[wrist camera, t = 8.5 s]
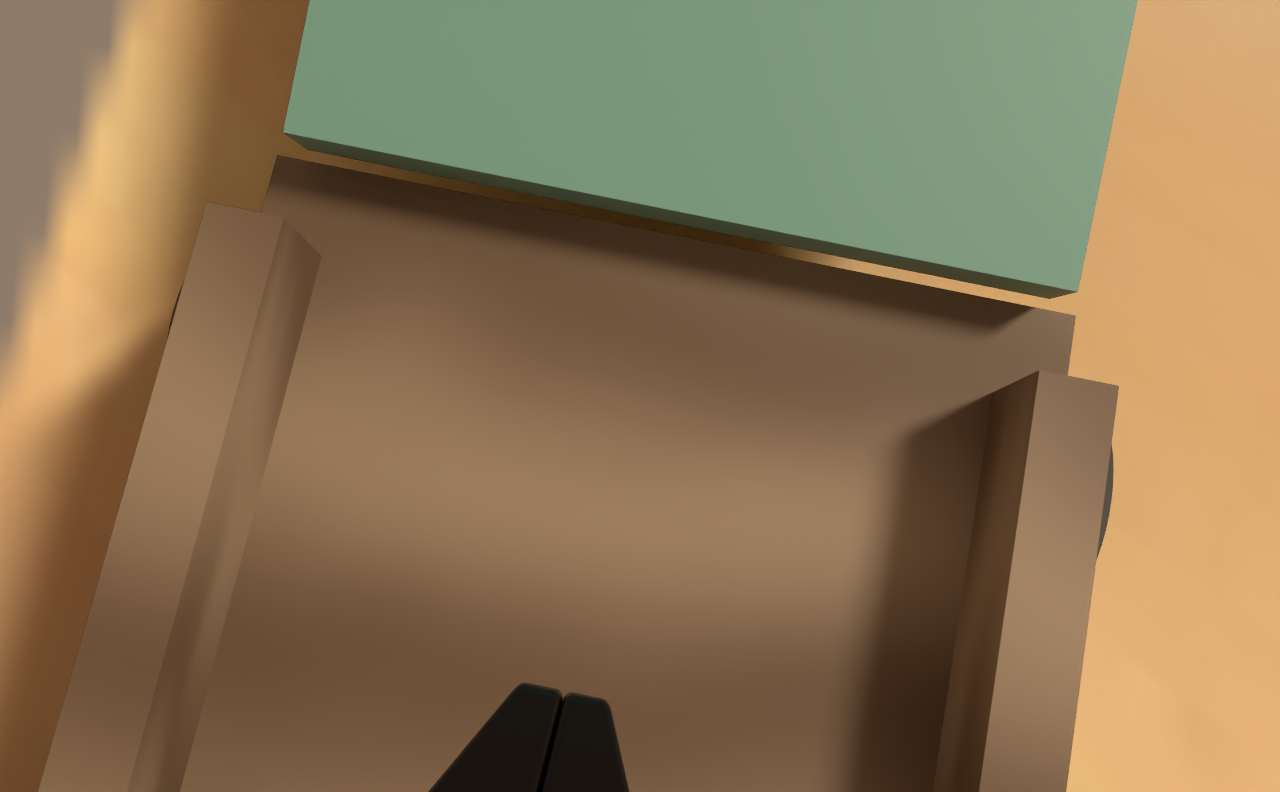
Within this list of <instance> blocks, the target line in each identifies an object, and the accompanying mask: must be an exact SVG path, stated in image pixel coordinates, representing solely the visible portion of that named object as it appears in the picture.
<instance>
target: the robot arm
mask: <svg viewBox="0 0 1280 792" xmlns="http://www.w3.org/2000/svg"><path fill="white" fill-rule="evenodd" d="M428 792H629V787H628V783H627V778H626V774H625V769H624V765H623V760H622V756H621V751H620V747H619V742H618V738H617V733H616V729H615V724H614V720H613V715H612V711H611V707H610V705H609V703H608V702H607V701H606V700H605V699H603V698H599V697H594V696H589V695H585V694H580V693H575V692H570V693H568V694H566V695H565V696H564V698H563V695H562V692H561V691H560V690H558V689H556V688H551V687H547V686H542V685H537V684H532V683H528V682H524V683H521V684H519V685H518V686H517V687H515V688H514V689H513V691H512V692H511V693H510V694H509V695H508V696H507V698H506V699H505V700H504V701H503V702H502V704H501V705H500V706H499V707H498V708H497V710H496V711H495V712H494V713H493V714H492V716H491V717H490V718H489V719H488V720H487V722H486V723H485V724H484V725H483V726H482V728H481V729H480V730H479V731H478V732H477V734H476V735H475V736H474V737H473V738H472V740H471V741H470V742H469V743H468V744H467V746H466V747H465V748H464V749H463V750H462V752H461V753H460V754H459V755H458V756H457V758H456V759H455V760H454V761H453V762H452V764H451V765H450V766H449V767H448V768H447V770H446V771H445V772H444V773H443V774H442V776H441V777H440V778H439V779H438V780H437V782H436V783H435V784H434V785H433V786H432V788H431V789H430V790H429V791H428Z"/></svg>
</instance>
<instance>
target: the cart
mask: <svg viewBox="0 0 1280 792" xmlns="http://www.w3.org/2000/svg"><path fill="white" fill-rule="evenodd" d="M1075 318H1076V316H1074V315H1069V314H1064V313H1060V312H1055V311H1050V310H1045V309H1040V308H1035V307H1030V306H1025V305H1020V304H1015V303H1010V302H1005V301H1000V300H995V299H990V298H985V297H980V296H975V295H970V294H965V293H960V292H955V291H950V290H945V289H940V288H935V287H930V286H925V285H920V284H915V283H910V282H905V281H900V280H895V279H890V278H885V277H881V276H876V275H871V274H866V273H861V272H856V271H851V270H846V269H841V268H836V267H831V266H826V265H821V264H816V263H811V262H806V261H801V260H796V259H791V258H786V257H781V256H776V255H771V254H766V253H761V252H756V251H751V250H746V249H741V248H736V247H731V246H726V245H721V244H716V243H711V242H707V241H702V240H697V239H692V238H687V237H682V236H677V235H672V234H667V233H662V232H657V231H652V230H647V229H642V228H637V227H632V226H627V225H622V224H617V223H612V222H607V221H602V220H597V219H592V218H587V217H582V216H577V215H572V214H567V213H562V212H557V211H552V210H547V209H542V208H537V207H532V206H528V205H523V204H518V203H513V202H508V201H503V200H498V199H493V198H488V197H483V196H478V195H473V194H468V193H463V192H458V191H453V190H448V189H443V188H438V187H433V186H428V185H423V184H418V183H413V182H408V181H403V180H398V179H393V178H388V177H383V176H378V175H373V174H368V173H363V172H358V171H353V170H349V169H344V168H339V167H334V166H329V165H324V164H319V163H314V162H309V161H304V160H299V159H294V158H289V157H284V156H279V155H277V158H276V162H275V165H274V169H273V173H272V176H271V180H270V184H269V187H268V191H267V194H266V198H265V202H264V205H263V209H262V213H261V212H256V211H251V210H246V209H241V208H236V207H231V206H226V205H221V204H216V203H211V202H207V203H206V206H205V210H204V213H203V217H202V220H201V224H200V227H199V231H198V234H197V238H196V241H195V245H194V248H193V252H192V255H191V259H190V262H189V266H188V269H187V273H186V276H185V280H184V282H183V284H182V287H181V290H180V292H179V295H178V298H177V301H176V304H175V307H174V311H173V315H172V318H171V322H170V327H169V333H168V338H167V343H166V346H165V350H164V353H163V357H162V360H161V364H160V367H159V371H158V374H157V378H156V381H155V385H154V388H153V392H152V395H151V399H150V402H149V406H148V409H147V413H146V416H145V420H144V423H143V427H142V430H141V434H140V437H139V441H138V444H137V448H136V451H135V455H134V458H133V462H132V465H131V469H130V472H129V476H128V479H127V482H126V486H125V489H124V493H123V496H122V500H121V503H120V507H119V510H118V514H117V517H116V521H115V524H114V528H113V531H112V535H111V538H110V542H109V545H108V549H107V552H106V556H105V559H104V563H103V566H102V570H101V573H100V577H99V580H98V584H97V587H96V591H95V594H94V598H93V601H92V605H91V608H90V612H89V615H88V619H87V622H86V626H85V629H84V633H83V636H82V640H81V643H80V647H79V650H78V654H77V657H76V661H75V664H74V668H73V671H72V675H71V678H70V682H69V685H68V689H67V692H66V696H65V699H64V703H63V706H62V710H61V713H60V717H59V720H58V724H57V727H56V731H55V734H54V738H53V741H52V745H51V748H50V752H49V755H48V759H47V762H46V766H45V769H44V773H43V776H42V780H41V783H40V787H39V790H38V792H428V791H429V790H430V789H431V788H432V786H433V785H434V784H435V783H436V782H437V780H438V779H439V778H440V777H441V776H442V774H443V773H444V772H445V771H446V770H447V768H448V767H449V766H450V765H451V764H452V762H453V761H454V760H455V759H456V758H457V756H458V755H459V754H460V753H461V752H462V750H463V749H464V748H465V747H466V746H467V744H468V743H469V742H470V741H471V740H472V738H473V737H474V736H475V735H476V734H477V732H478V731H479V730H480V729H481V728H482V726H483V725H484V724H485V723H486V722H487V720H488V719H489V718H490V717H491V716H492V714H493V713H494V712H495V711H496V710H497V708H498V707H499V706H500V705H501V704H502V702H503V701H504V700H505V699H506V698H507V696H508V695H509V694H510V693H511V692H512V691H513V689H514V688H515V687H517V686H518V685H519V684H521V683H524V682H528V683H532V684H537V685H542V686H547V687H551V688H556V689H558V690H560V691H561V692H562V695H563V698H564V696H565V695H566V694H568V693H570V692H575V693H580V694H585V695H589V696H594V697H599V698H603V699H605V700H606V701H607V702H608V703H609V705H610V707H611V711H612V715H613V720H614V724H615V729H616V733H617V738H618V742H619V747H620V751H621V756H622V760H623V765H624V769H625V774H626V778H627V783H628V787H629V792H1066V788H1067V780H1068V773H1069V765H1070V757H1071V750H1072V742H1073V734H1074V727H1075V719H1076V711H1077V703H1078V696H1079V688H1080V680H1081V673H1082V665H1083V657H1084V650H1085V642H1086V634H1087V627H1088V619H1089V611H1090V604H1091V596H1092V588H1093V581H1094V573H1095V565H1096V560H1097V557H1098V554H1099V551H1100V548H1101V545H1102V542H1103V538H1104V535H1105V531H1106V527H1107V522H1108V517H1109V512H1110V506H1111V499H1112V489H1113V452H1112V435H1113V427H1114V420H1115V412H1116V404H1117V397H1118V389H1119V386H1116V385H1111V384H1106V383H1101V382H1096V381H1091V380H1086V379H1082V378H1077V377H1072V376H1067V375H1068V368H1069V361H1070V354H1071V346H1072V339H1073V332H1074V325H1075Z"/></svg>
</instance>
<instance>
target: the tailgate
mask: <svg viewBox="0 0 1280 792" xmlns="http://www.w3.org/2000/svg"><path fill="white" fill-rule="evenodd" d="M1137 1H1138V0H310V2H309V6H308V11H307V16H306V21H305V26H304V31H303V36H302V41H301V46H300V51H299V56H298V61H297V66H296V70H295V75H294V80H293V85H292V90H291V95H290V100H289V105H288V110H287V115H286V120H285V125H284V130H283V133H285V134H286V135H288V136H289V137H290V138H292V139H293V140H295V141H296V142H298V143H299V144H300V145H302V146H303V147H305V148H306V149H307V150H311V151H316V152H321V153H326V154H331V155H336V156H341V157H346V158H351V159H356V160H361V161H366V162H371V163H376V164H381V165H386V166H391V167H396V168H401V169H406V170H411V171H416V172H421V173H426V174H431V175H436V176H440V177H445V178H450V179H455V180H460V181H465V182H470V183H475V184H480V185H485V186H490V187H495V188H500V189H505V190H510V191H515V192H520V193H525V194H530V195H535V196H540V197H545V198H550V199H555V200H560V201H565V202H570V203H575V204H580V205H585V206H590V207H595V208H600V209H605V210H610V211H615V212H620V213H625V214H630V215H635V216H640V217H645V218H650V219H654V220H659V221H664V222H669V223H674V224H679V225H684V226H689V227H694V228H699V229H704V230H709V231H714V232H719V233H724V234H729V235H734V236H739V237H744V238H749V239H754V240H759V241H764V242H769V243H774V244H779V245H784V246H789V247H794V248H799V249H804V250H809V251H814V252H819V253H824V254H829V255H834V256H839V257H844V258H849V259H854V260H859V261H864V262H869V263H873V264H878V265H883V266H888V267H893V268H898V269H903V270H908V271H913V272H918V273H923V274H928V275H933V276H938V277H943V278H948V279H953V280H958V281H963V282H968V283H973V284H978V285H983V286H988V287H993V288H998V289H1003V290H1008V291H1013V292H1018V293H1023V294H1028V295H1033V296H1038V297H1043V298H1048V299H1051V298H1055V297H1059V296H1063V295H1067V294H1071V293H1075V292H1078V288H1079V283H1080V278H1081V273H1082V269H1083V264H1084V259H1085V254H1086V249H1087V244H1088V239H1089V234H1090V230H1091V225H1092V220H1093V215H1094V210H1095V205H1096V200H1097V195H1098V191H1099V186H1100V181H1101V176H1102V171H1103V166H1104V161H1105V157H1106V152H1107V147H1108V142H1109V137H1110V132H1111V127H1112V122H1113V118H1114V113H1115V108H1116V103H1117V98H1118V93H1119V88H1120V83H1121V79H1122V74H1123V69H1124V64H1125V59H1126V54H1127V49H1128V44H1129V40H1130V35H1131V30H1132V25H1133V20H1134V15H1135V10H1136V5H1137Z"/></svg>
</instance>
